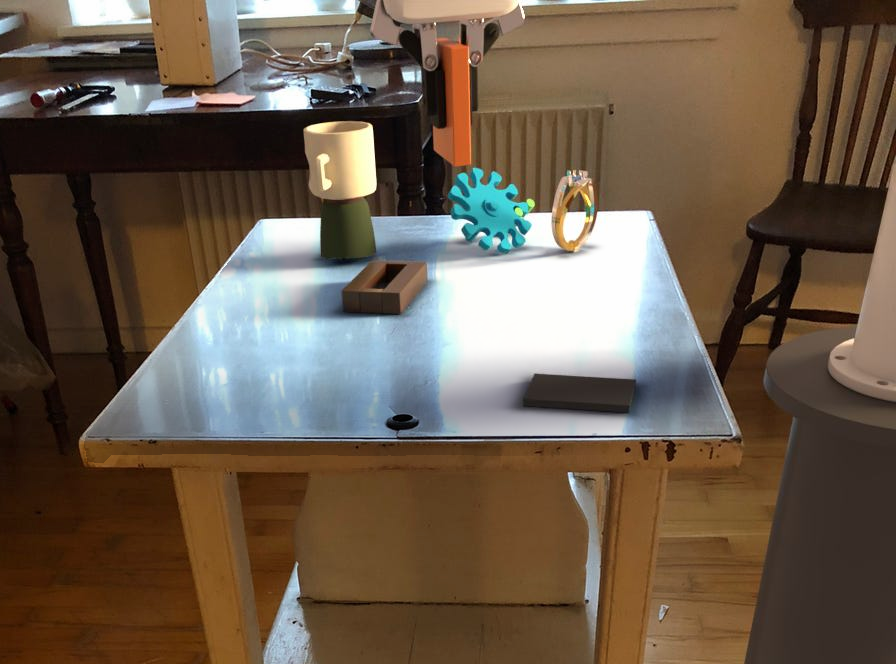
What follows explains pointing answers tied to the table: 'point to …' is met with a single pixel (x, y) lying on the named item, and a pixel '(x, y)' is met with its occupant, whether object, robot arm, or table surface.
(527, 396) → the mat
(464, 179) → the gear
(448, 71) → the orange rectangular board
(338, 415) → the table surface
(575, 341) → the table surface
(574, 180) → the ring
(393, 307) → the frame
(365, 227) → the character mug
